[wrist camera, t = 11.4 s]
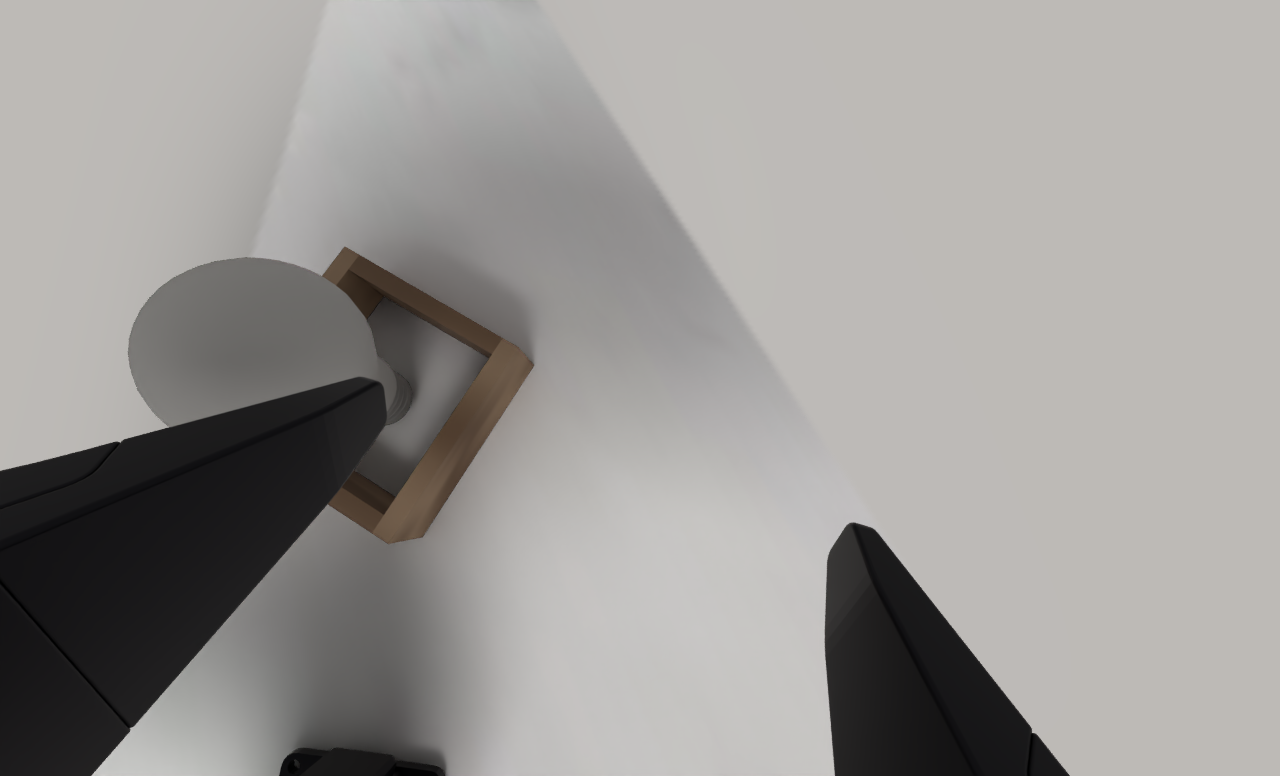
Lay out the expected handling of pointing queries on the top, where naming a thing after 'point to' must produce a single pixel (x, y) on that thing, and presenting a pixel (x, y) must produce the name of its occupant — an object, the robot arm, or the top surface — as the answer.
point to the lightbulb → (251, 341)
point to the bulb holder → (462, 429)
